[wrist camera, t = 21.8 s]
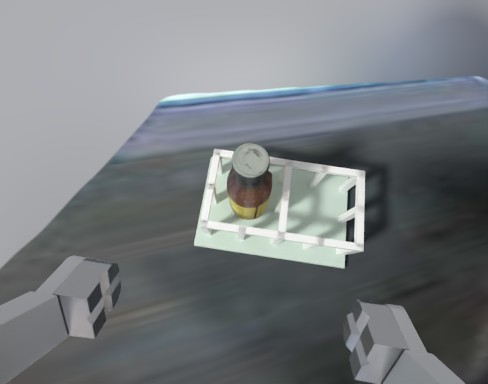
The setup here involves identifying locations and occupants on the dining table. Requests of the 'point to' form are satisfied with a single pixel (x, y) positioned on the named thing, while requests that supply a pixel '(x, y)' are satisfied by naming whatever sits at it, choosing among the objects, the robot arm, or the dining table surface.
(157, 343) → the dining table surface
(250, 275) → the dining table surface
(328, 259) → the dish rack
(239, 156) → the sauce bottle
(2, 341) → the robot arm
